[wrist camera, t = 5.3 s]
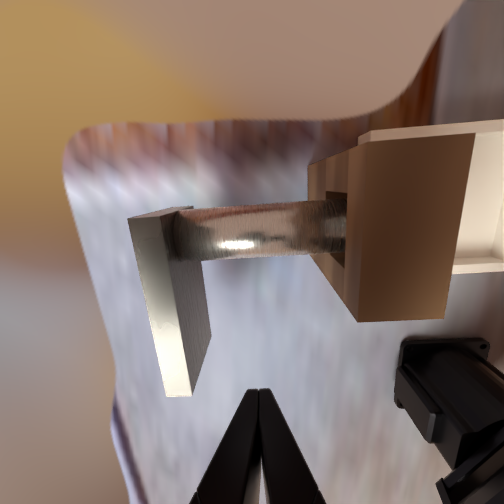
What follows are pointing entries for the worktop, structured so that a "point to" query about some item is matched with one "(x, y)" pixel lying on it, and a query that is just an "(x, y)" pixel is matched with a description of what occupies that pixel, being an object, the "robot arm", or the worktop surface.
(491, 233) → the tray
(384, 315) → the block
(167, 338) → the grey piece
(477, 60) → the worktop surface
